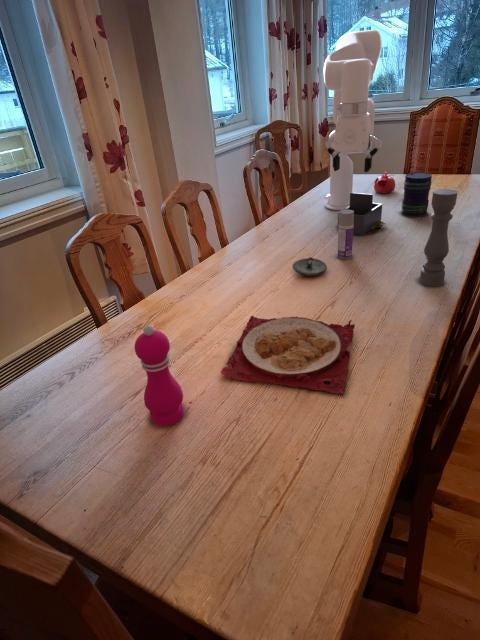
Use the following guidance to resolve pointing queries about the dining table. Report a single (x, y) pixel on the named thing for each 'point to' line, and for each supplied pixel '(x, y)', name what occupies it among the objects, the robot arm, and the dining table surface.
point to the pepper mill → (159, 378)
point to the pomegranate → (384, 184)
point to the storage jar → (416, 194)
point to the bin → (364, 212)
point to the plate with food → (292, 353)
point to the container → (345, 234)
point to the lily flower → (378, 225)
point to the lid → (309, 266)
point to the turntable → (372, 231)
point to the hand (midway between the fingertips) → (351, 170)
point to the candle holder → (438, 238)
